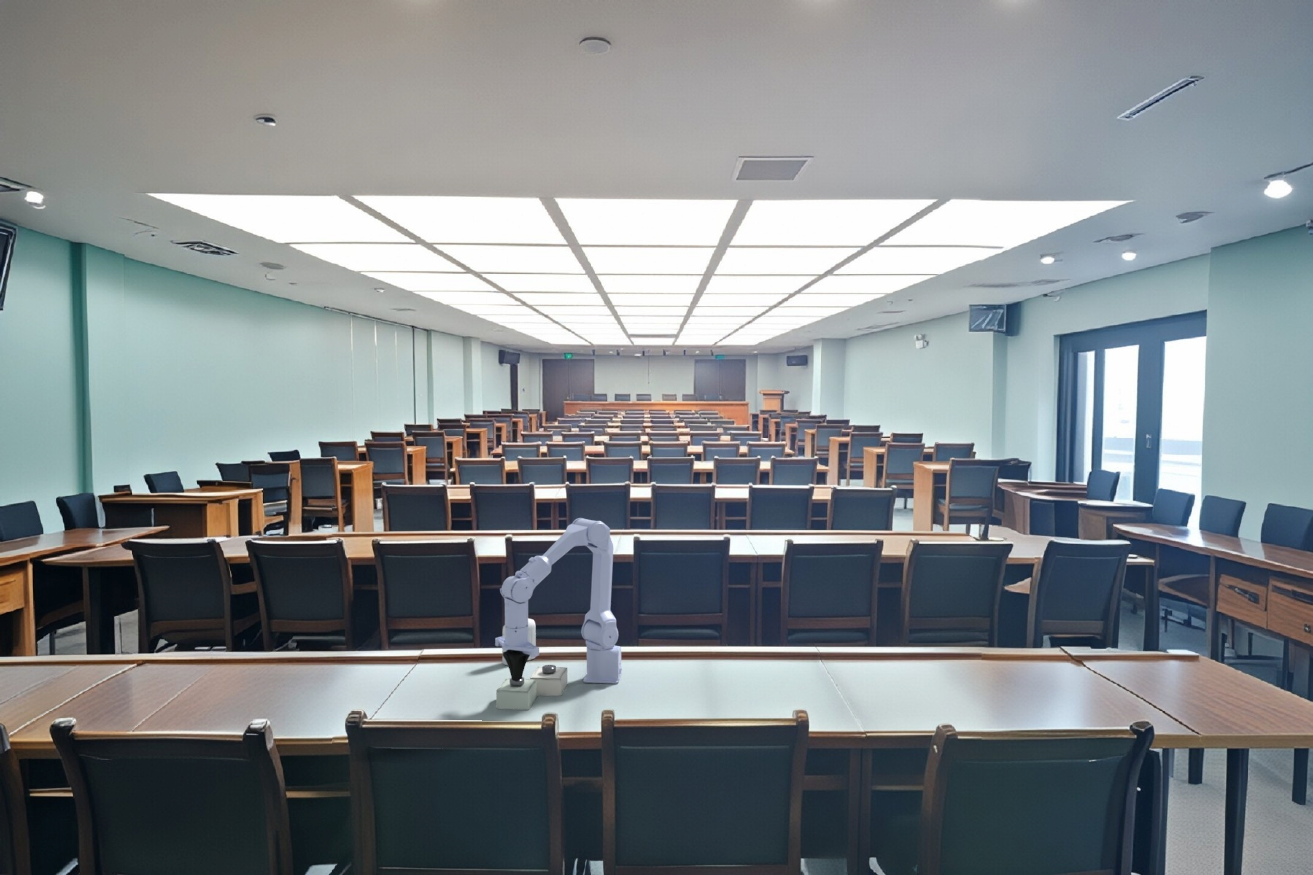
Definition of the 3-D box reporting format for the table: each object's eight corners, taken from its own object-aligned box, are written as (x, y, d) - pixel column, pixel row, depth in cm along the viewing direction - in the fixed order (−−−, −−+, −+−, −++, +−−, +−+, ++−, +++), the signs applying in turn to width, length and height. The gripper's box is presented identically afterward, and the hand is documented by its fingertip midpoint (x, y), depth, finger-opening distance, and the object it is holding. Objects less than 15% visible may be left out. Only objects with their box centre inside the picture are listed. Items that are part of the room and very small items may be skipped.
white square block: (567, 684, 184) (567, 667, 184) (560, 695, 176) (560, 678, 176) (538, 683, 185) (537, 666, 184) (530, 694, 177) (530, 677, 177)
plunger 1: (530, 695, 174) (529, 675, 174) (524, 704, 169) (524, 683, 169) (509, 695, 175) (509, 675, 174) (503, 703, 169) (503, 682, 169)
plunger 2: (561, 683, 183) (561, 663, 183) (556, 690, 177) (556, 670, 177) (541, 682, 183) (541, 663, 183) (536, 690, 178) (536, 670, 178)
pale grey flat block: (536, 696, 175) (536, 679, 175) (528, 709, 167) (528, 691, 167) (506, 695, 176) (506, 678, 176) (496, 708, 168) (496, 690, 168)
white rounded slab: (530, 655, 207) (529, 614, 207) (538, 658, 204) (537, 617, 204) (500, 663, 200) (499, 621, 200) (507, 667, 197) (507, 624, 197)
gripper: (485, 623, 173) (485, 677, 173) (523, 634, 164) (523, 691, 164) (507, 617, 178) (507, 669, 179) (545, 627, 169) (545, 682, 170)
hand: (516, 679), depth 172 cm, fingers closed, pressing on plunger 1
